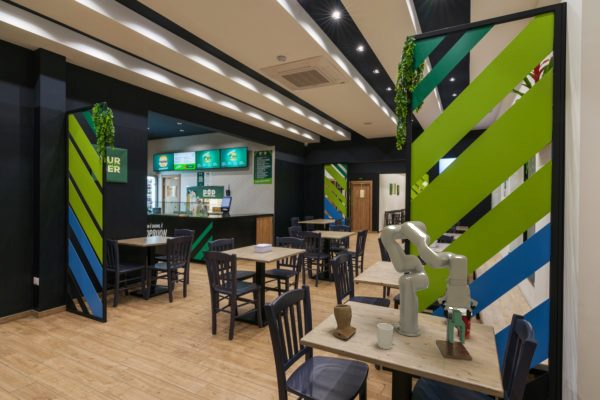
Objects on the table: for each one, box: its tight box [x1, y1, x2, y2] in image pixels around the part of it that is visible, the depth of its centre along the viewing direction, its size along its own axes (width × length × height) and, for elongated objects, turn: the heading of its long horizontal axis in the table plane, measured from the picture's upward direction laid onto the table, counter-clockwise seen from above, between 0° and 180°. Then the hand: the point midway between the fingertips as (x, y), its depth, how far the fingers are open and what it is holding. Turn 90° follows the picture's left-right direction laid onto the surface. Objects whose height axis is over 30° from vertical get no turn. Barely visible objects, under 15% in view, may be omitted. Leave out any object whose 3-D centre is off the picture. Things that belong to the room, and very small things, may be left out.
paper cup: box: [456, 308, 473, 340], centre depth 172 cm, size 8×8×14 cm
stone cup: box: [332, 303, 357, 340], centre depth 173 cm, size 15×12×15 cm
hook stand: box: [435, 312, 473, 361], centre depth 155 cm, size 12×17×16 cm
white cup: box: [376, 322, 394, 350], centre depth 160 cm, size 8×8×10 cm
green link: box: [448, 309, 466, 345], centre depth 151 cm, size 6×4×14 cm, turn 80°
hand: (457, 318), depth 151 cm, fingers open, 9 cm apart
